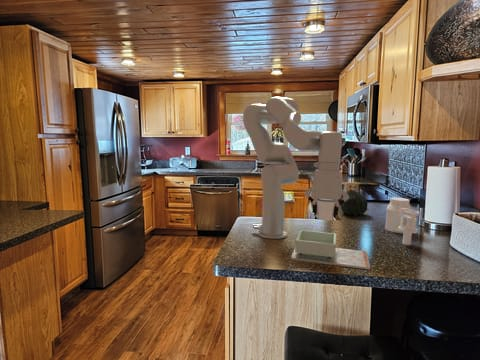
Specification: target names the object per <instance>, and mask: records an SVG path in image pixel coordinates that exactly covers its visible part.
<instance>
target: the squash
mask: <svg viewBox="0 0 480 360" xmlns="http://www.w3.org/2000/svg"><path fill="white" fill-rule="evenodd" d="M346 194H347V195H348V196H349V199H348V200H346V201H345V202H344V203H343V204H342V205H340V210H341V211H342V212H343V213H344V214H345V215H349V216H356V217H357V216H359V215H364V214H365V213H366V212H367V210H368V201H367V200H368V199H366V197H365V196H364V195H363V194H362V193H360V192H359V193H358V192H356V191H354V190H349V191H348V192H347V193H346ZM343 198H344V197H343V196H342V199H343Z"/></svg>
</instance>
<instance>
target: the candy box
mask: <svg viewBox="0 0 480 360" xmlns="http://www.w3.org/2000/svg"><path fill="white" fill-rule="evenodd" d="M343 190H344V191H345V193H347V192H348V191H349V190H354V191H356V192H358V193H360V182H356V181H355V182H353V181H351V182H349V181H348V182H345V181H344V182H343ZM343 197H344V196H343V195H342V198H343Z"/></svg>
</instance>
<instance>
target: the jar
mask: <svg viewBox="0 0 480 360" xmlns="http://www.w3.org/2000/svg"><path fill="white" fill-rule="evenodd" d="M389 200H390V201H389V203H388V205H387V207H386V211H385V212H386V216H385V226H384V229H385V231H389V232H390V233H391V232H392V233H397V234H403V232H401V231H399V230H398V227H399V226H401V218H402V217H400V210H401V208H408V209H409V210H413V209H412V207H411V206H410V199H408V198H405V197H390V199H389ZM408 213H410V212H408Z"/></svg>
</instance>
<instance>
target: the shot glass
mask: <svg viewBox="0 0 480 360" xmlns="http://www.w3.org/2000/svg"><path fill="white" fill-rule="evenodd" d="M316 205H317V212H316V219H317V220H320V221H324V222H325V221H327V222H328V221H333V220H334V207H335V201H334V200H331V199H320V198H318V200H317V202H316Z"/></svg>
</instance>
